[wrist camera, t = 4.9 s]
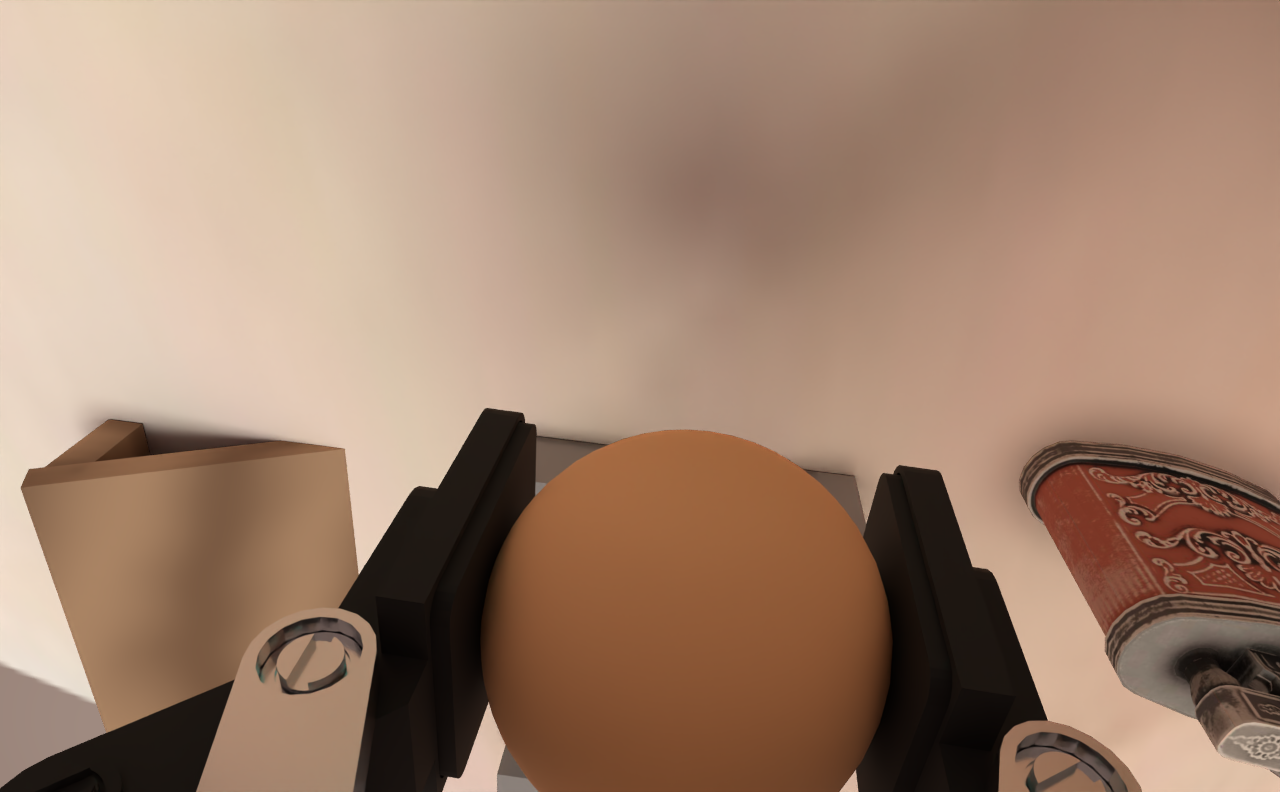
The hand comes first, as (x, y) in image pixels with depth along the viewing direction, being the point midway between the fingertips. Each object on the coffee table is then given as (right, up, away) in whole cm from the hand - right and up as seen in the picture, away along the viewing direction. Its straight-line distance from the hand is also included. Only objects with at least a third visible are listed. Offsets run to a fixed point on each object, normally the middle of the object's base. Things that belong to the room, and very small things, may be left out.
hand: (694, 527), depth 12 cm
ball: (0, 0, 0) cm, 1 cm away
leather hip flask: (+15, -1, +14) cm, 20 cm away
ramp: (-15, -5, +19) cm, 25 cm away
